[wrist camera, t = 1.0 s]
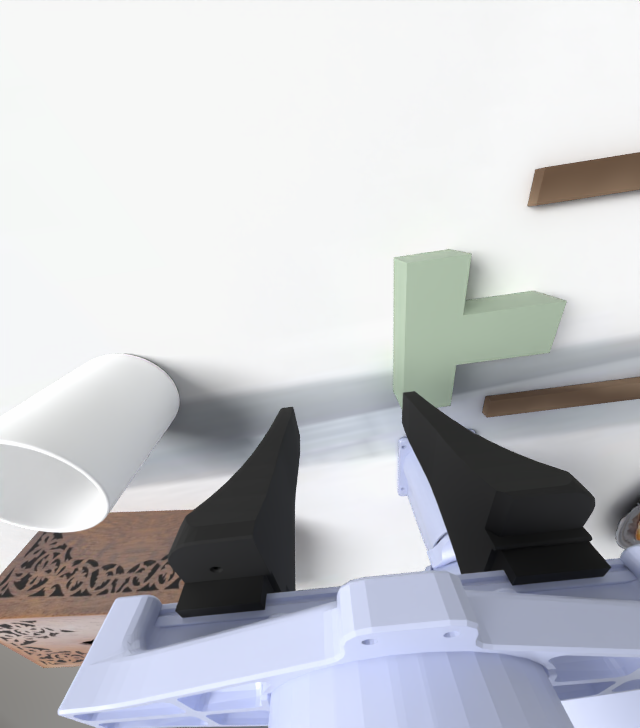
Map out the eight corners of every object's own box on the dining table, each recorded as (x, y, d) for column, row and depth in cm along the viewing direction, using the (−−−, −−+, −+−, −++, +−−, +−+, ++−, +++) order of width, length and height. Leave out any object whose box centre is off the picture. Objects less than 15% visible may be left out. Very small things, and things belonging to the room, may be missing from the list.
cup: (193, 423, 26) (130, 529, 17) (72, 429, 26) (-55, 539, 17) (166, 348, 22) (65, 436, 13) (22, 354, 22) (-181, 448, 13)
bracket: (656, 390, 25) (666, 395, 25) (482, 412, 26) (486, 417, 25) (819, 124, 16) (843, 119, 15) (535, 169, 16) (545, 167, 16)
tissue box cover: (261, 505, 33) (243, 608, 24) (272, 561, 40) (261, 657, 31) (55, 512, 32) (-40, 620, 24) (103, 568, 39) (43, 667, 31)
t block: (510, 376, 24) (535, 395, 21) (393, 391, 25) (403, 411, 22) (548, 234, 18) (588, 236, 16) (393, 257, 19) (407, 263, 16)
